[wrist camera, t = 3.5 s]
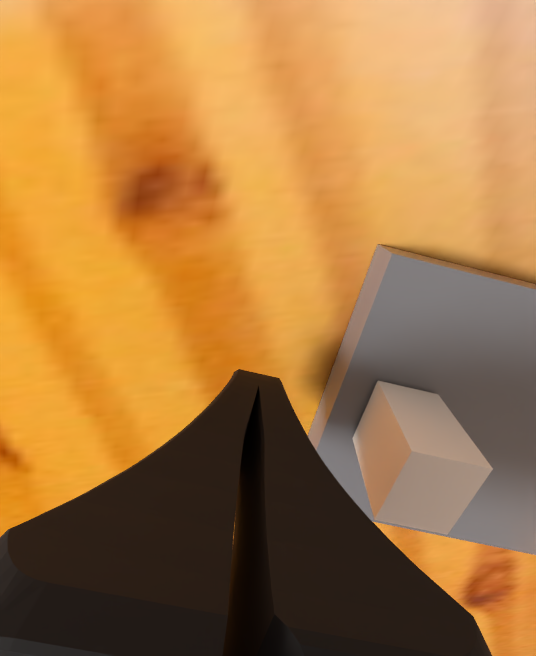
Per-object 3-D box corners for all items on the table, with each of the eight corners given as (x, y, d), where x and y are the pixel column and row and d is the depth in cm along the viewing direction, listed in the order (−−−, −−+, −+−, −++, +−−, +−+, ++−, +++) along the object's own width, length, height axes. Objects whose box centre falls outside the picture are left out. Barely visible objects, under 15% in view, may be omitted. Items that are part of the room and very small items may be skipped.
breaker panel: (552, 529, 15) (588, 574, 13) (293, 474, 14) (295, 514, 13) (725, 331, 11) (808, 359, 9) (377, 244, 10) (396, 256, 9)
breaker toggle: (407, 450, 11) (447, 534, 9) (352, 438, 11) (374, 519, 9) (438, 394, 11) (492, 468, 8) (377, 380, 10) (411, 450, 8)
